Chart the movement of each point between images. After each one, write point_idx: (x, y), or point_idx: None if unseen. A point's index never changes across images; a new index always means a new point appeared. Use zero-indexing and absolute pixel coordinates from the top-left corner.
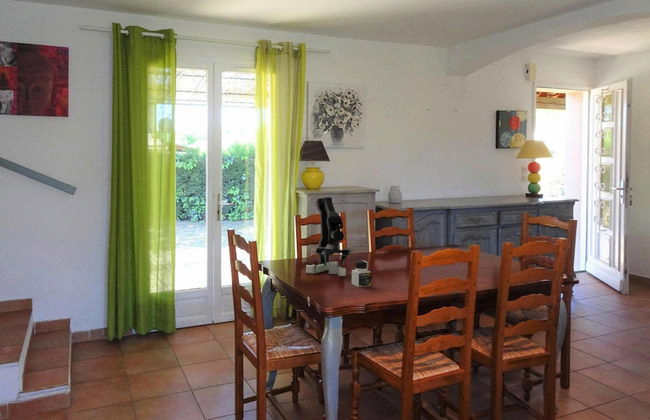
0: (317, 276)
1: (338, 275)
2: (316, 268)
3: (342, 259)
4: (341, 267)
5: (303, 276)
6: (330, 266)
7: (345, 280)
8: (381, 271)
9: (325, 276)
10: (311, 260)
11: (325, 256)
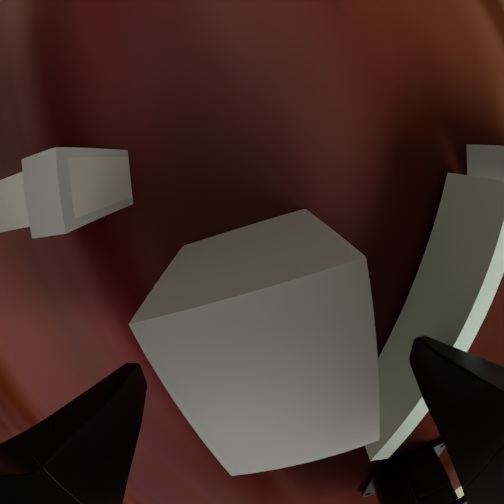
0: (372, 9)
1: (122, 150)
2: (492, 183)
3: (31, 445)
4: (40, 234)
5: (472, 7)
6: (301, 246)
7: (21, 15)
8: (6, 423)
9: (280, 29)
10: (456, 475)
11: (486, 468)
